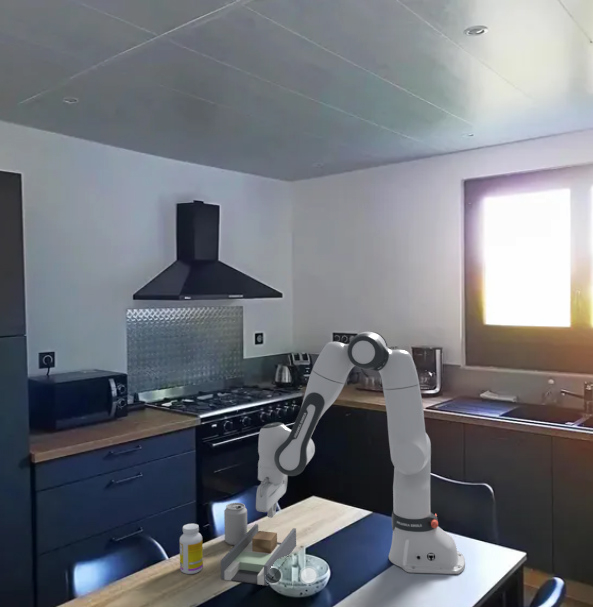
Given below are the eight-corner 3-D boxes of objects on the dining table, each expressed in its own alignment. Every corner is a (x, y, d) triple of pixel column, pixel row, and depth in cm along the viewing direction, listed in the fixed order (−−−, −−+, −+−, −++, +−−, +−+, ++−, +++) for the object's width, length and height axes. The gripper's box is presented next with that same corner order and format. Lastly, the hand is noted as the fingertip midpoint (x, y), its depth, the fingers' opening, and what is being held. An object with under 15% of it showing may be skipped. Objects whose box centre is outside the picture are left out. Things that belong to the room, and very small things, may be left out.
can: (246, 546, 191) (245, 509, 190) (223, 546, 191) (222, 509, 191) (248, 536, 198) (248, 501, 198) (226, 537, 198) (225, 501, 198)
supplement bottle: (207, 567, 176) (206, 524, 176) (194, 576, 170) (193, 532, 170) (188, 562, 179) (188, 520, 179) (175, 572, 173) (174, 528, 173)
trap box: (296, 545, 191) (296, 528, 191) (267, 585, 164) (267, 565, 164) (255, 540, 195) (255, 524, 195) (221, 579, 169) (220, 560, 168)
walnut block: (277, 545, 185) (277, 532, 185) (270, 553, 179) (270, 540, 179) (259, 543, 187) (259, 530, 187) (252, 551, 181) (252, 538, 181)
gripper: (270, 484, 180) (270, 529, 180) (290, 465, 199) (290, 506, 199) (250, 482, 181) (250, 526, 182) (272, 463, 201) (272, 504, 201)
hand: (271, 516), depth 191 cm, fingers closed
